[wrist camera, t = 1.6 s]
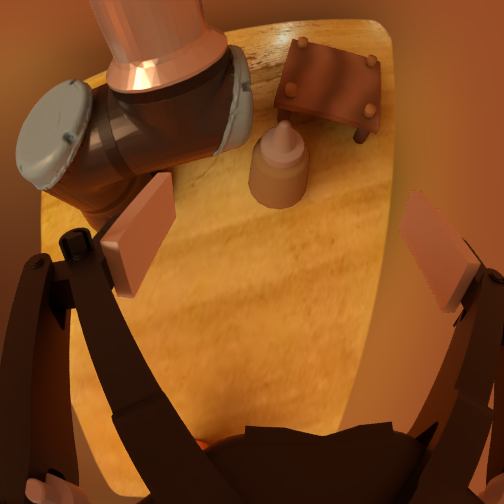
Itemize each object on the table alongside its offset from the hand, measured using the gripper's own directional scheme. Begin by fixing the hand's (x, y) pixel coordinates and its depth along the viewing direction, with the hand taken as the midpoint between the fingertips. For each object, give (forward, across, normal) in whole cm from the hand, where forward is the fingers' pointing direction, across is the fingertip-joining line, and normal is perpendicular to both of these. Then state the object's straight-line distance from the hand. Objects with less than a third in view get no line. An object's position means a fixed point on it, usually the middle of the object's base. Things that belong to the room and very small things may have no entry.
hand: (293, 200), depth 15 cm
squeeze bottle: (+27, 0, -12) cm, 29 cm away
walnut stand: (+40, +8, +2) cm, 41 cm away
